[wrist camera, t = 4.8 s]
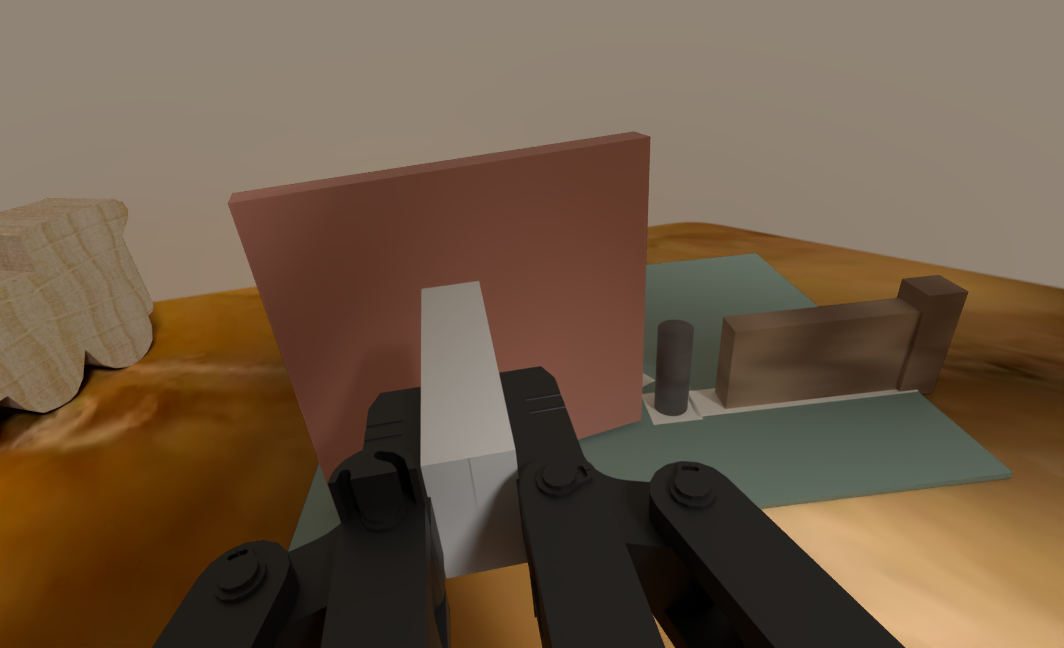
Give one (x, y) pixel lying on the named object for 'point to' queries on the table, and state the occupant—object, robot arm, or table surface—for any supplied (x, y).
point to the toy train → (66, 299)
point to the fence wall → (819, 349)
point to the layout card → (757, 414)
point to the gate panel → (458, 276)
